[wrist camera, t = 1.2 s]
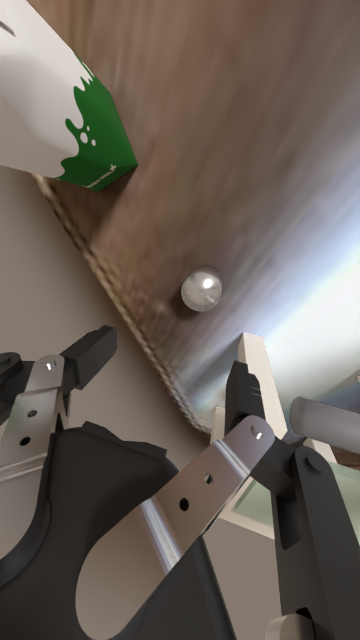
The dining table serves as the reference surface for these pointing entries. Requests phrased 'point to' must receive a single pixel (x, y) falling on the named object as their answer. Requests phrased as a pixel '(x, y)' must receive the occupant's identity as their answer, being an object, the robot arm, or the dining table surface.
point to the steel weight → (202, 288)
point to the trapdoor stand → (258, 364)
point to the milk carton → (55, 107)
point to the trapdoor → (333, 430)
